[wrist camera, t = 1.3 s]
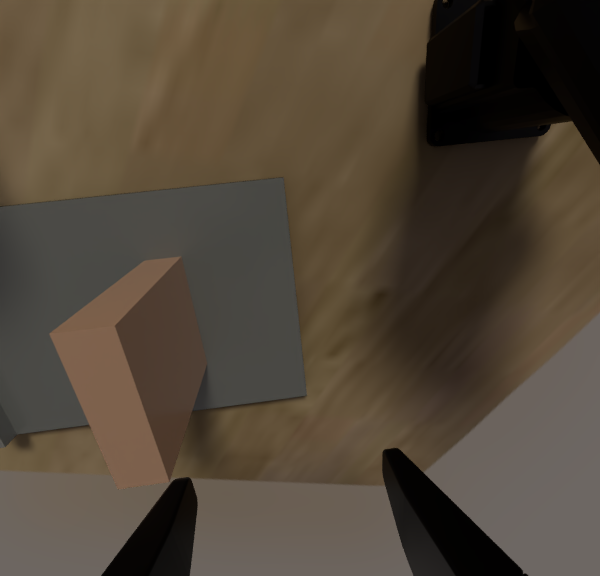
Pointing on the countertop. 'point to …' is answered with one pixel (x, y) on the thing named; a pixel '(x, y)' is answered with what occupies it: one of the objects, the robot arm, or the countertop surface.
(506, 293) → the countertop surface
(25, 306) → the slate board
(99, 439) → the tile
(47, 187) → the countertop surface
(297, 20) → the countertop surface
